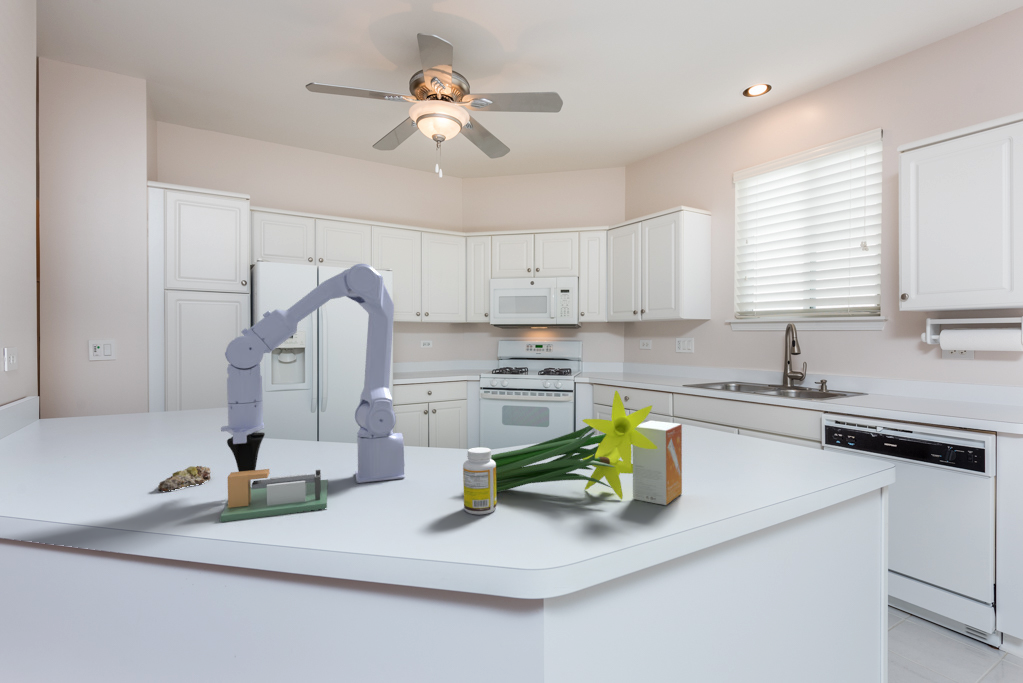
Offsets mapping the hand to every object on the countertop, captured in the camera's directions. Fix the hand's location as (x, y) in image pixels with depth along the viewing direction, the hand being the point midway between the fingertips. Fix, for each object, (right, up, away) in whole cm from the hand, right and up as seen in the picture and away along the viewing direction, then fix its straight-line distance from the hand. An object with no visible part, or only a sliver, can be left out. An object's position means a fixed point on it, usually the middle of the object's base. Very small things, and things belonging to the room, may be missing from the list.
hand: (247, 474), depth 92 cm
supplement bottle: (+44, -4, -8) cm, 45 cm away
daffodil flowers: (+57, -4, -2) cm, 58 cm away
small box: (+75, -4, -3) cm, 76 cm away
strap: (+9, 0, -5) cm, 10 cm away
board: (+7, -4, -3) cm, 9 cm away
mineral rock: (-17, -5, +9) cm, 20 cm away
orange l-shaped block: (+4, -3, -7) cm, 8 cm away
